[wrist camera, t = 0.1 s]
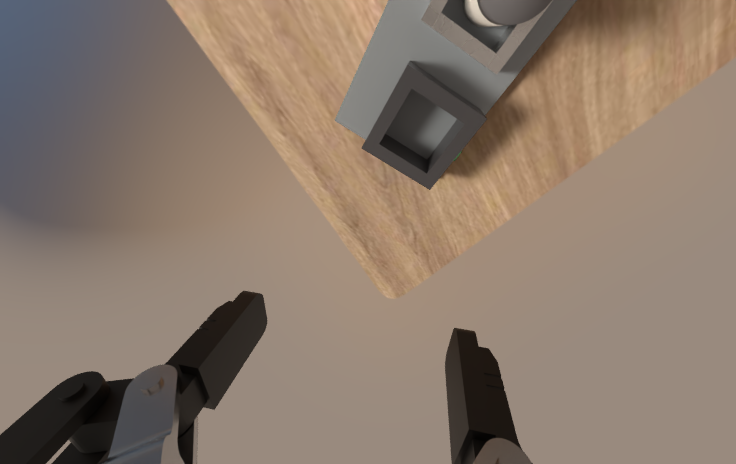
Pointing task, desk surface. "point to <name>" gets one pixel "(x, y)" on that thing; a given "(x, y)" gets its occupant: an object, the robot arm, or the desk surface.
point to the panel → (432, 70)
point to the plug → (502, 11)
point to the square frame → (473, 46)
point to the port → (449, 146)
